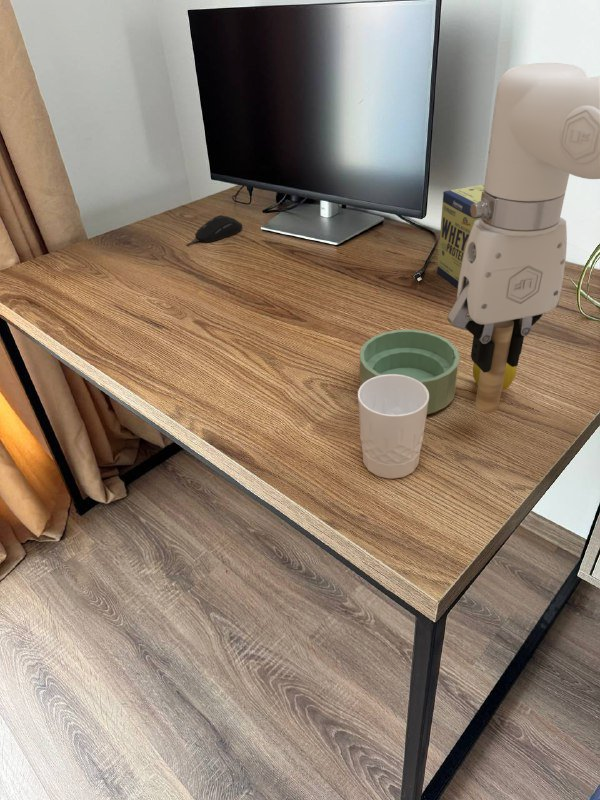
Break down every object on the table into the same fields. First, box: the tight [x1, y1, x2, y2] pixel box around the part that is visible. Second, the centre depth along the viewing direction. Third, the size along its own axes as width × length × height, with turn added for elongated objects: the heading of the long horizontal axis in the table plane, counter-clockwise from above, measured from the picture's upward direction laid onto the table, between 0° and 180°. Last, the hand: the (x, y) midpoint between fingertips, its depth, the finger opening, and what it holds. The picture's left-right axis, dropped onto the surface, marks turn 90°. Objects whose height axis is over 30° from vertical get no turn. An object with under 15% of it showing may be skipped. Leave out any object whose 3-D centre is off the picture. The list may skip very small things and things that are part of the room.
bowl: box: [359, 329, 461, 415], centre depth 81 cm, size 13×13×6 cm
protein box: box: [436, 183, 484, 289], centre depth 105 cm, size 10×16×16 cm
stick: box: [474, 320, 514, 414], centre depth 69 cm, size 3×3×12 cm
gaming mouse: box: [186, 214, 243, 247], centre depth 133 cm, size 6×15×4 cm, turn 131°
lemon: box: [472, 362, 518, 392], centre depth 78 cm, size 6×6×8 cm
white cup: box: [357, 374, 429, 480], centre depth 68 cm, size 8×8×10 cm
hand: (494, 362), depth 69 cm, fingers closed on stick, 2 cm apart
